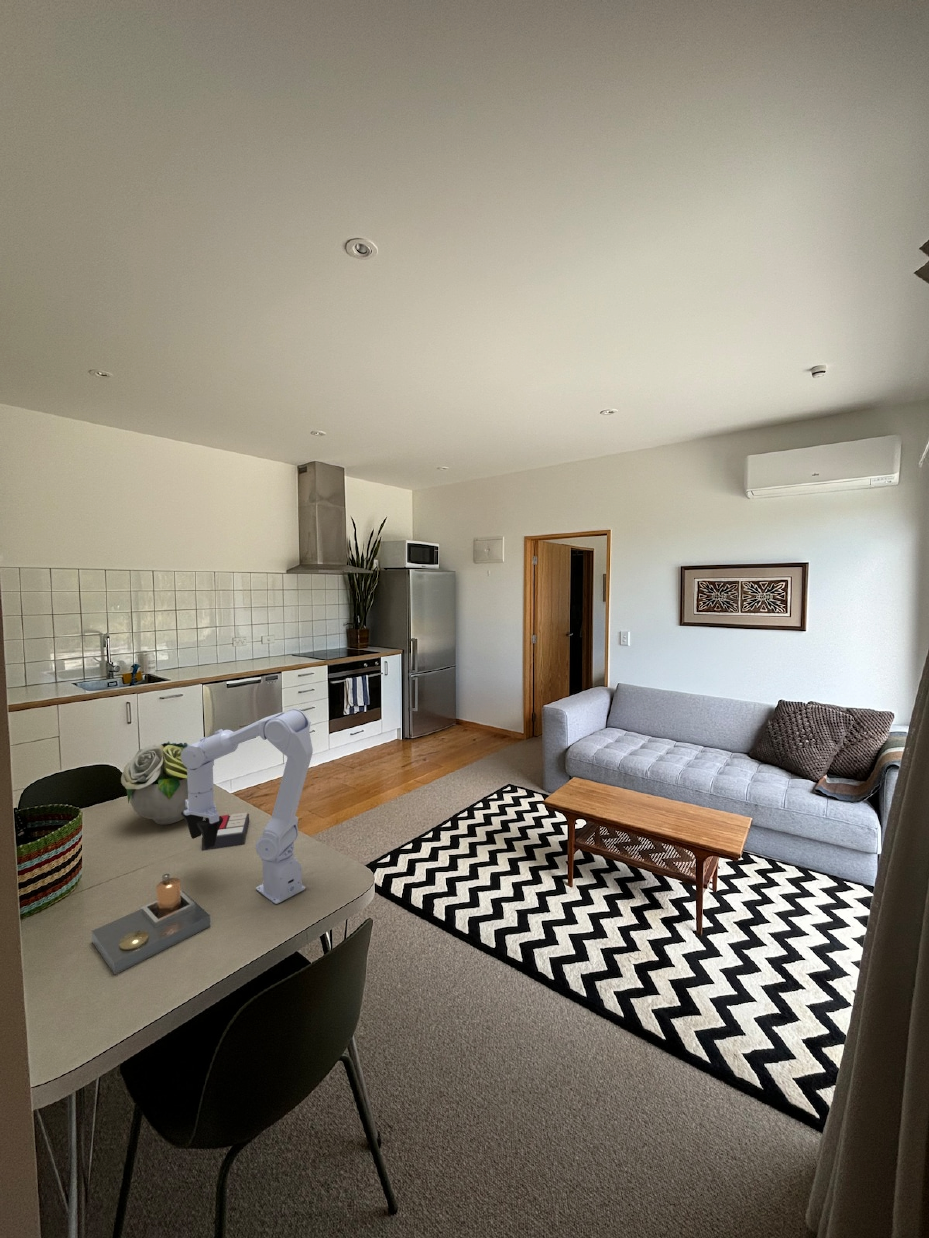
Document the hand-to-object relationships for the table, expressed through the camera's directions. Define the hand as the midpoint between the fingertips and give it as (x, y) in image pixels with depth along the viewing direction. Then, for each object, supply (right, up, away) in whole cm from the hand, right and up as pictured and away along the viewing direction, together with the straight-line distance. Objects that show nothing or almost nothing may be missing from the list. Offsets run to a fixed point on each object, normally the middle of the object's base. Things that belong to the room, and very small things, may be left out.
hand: (202, 841), depth 129 cm
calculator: (-5, -9, +24) cm, 26 cm away
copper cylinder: (0, -11, -15) cm, 18 cm away
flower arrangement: (-27, -8, +34) cm, 44 cm away
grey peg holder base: (-1, -11, -19) cm, 22 cm away
